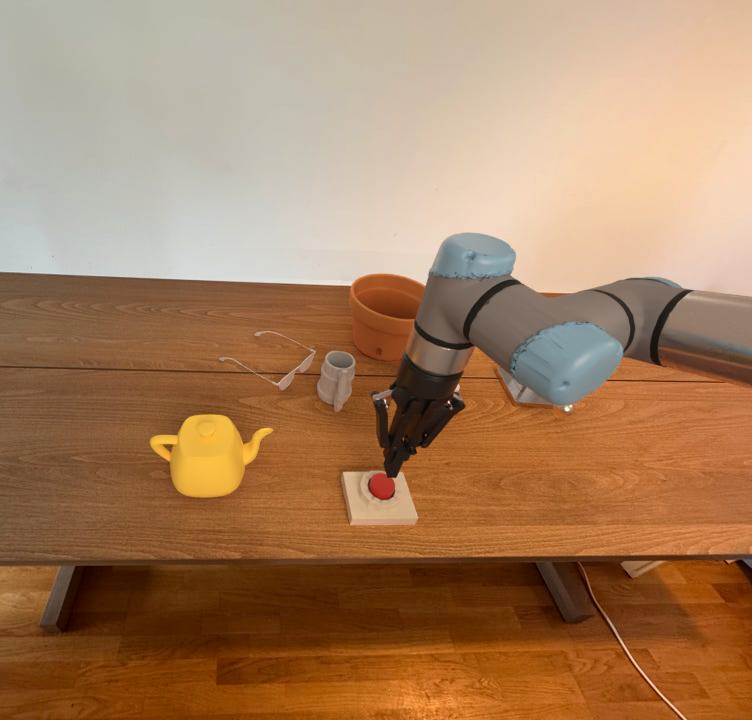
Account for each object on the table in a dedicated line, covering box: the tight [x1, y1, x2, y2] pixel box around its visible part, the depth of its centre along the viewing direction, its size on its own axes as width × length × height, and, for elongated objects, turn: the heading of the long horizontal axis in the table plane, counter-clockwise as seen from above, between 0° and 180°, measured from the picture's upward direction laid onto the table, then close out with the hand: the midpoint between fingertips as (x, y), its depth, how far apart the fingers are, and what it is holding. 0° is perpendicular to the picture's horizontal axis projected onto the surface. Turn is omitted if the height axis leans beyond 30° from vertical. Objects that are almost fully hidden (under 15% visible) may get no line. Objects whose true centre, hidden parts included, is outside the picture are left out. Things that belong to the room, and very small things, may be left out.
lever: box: [552, 403, 575, 418], centre depth 87 cm, size 17×4×4 cm, turn 177°
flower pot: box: [348, 273, 426, 362], centre depth 104 cm, size 21×21×15 cm
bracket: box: [494, 366, 554, 410], centre depth 93 cm, size 12×10×15 cm
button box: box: [340, 470, 419, 526], centre depth 72 cm, size 11×9×4 cm
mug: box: [316, 350, 356, 413], centre depth 88 cm, size 8×12×12 cm, turn 178°
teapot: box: [149, 414, 274, 499], centre depth 71 cm, size 13×20×12 cm
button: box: [369, 473, 395, 499], centre depth 70 cm, size 4×4×2 cm
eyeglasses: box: [218, 330, 317, 391], centre depth 99 cm, size 15×18×4 cm
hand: (389, 470), depth 68 cm, fingers closed
